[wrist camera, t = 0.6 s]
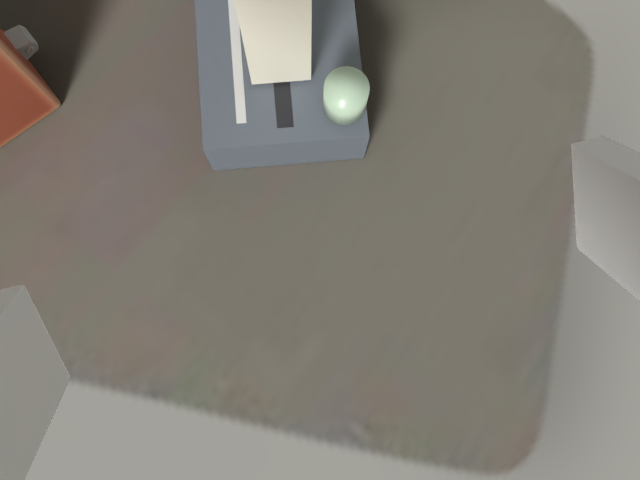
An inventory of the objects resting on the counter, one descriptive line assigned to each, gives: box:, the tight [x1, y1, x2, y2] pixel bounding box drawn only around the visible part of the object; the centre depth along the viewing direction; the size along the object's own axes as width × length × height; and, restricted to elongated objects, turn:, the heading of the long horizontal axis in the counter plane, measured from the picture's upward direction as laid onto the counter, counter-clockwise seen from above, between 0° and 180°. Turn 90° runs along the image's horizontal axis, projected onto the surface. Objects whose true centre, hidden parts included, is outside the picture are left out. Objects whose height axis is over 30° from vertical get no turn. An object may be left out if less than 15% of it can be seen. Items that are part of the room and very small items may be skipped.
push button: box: [323, 66, 370, 125], centre depth 35 cm, size 3×3×2 cm
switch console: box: [194, 0, 370, 171], centre depth 39 cm, size 18×10×5 cm, turn 5°
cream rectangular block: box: [234, 0, 312, 84], centre depth 32 cm, size 2×4×10 cm, turn 95°
